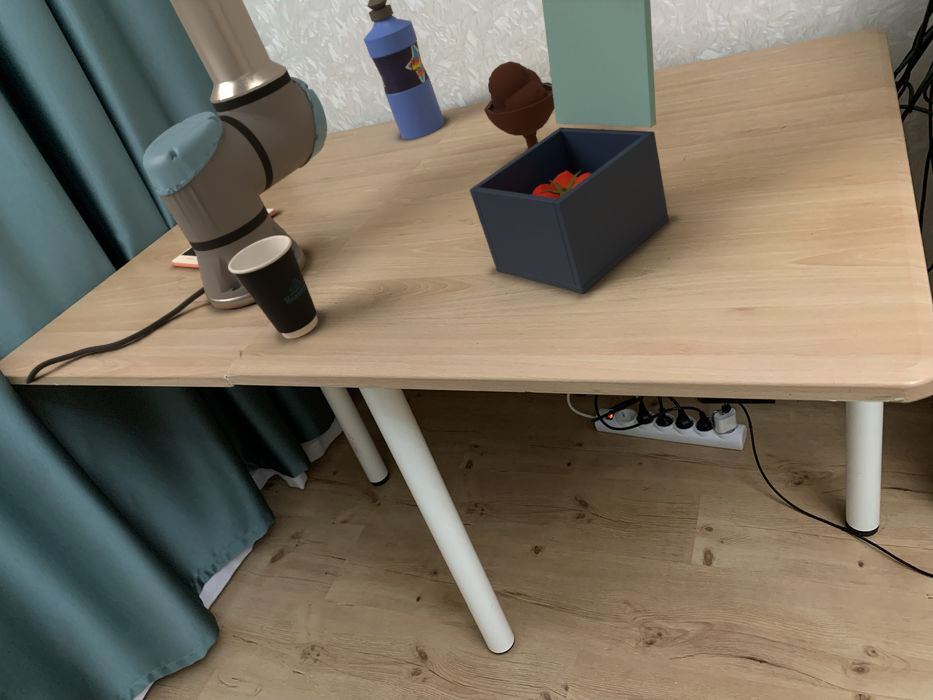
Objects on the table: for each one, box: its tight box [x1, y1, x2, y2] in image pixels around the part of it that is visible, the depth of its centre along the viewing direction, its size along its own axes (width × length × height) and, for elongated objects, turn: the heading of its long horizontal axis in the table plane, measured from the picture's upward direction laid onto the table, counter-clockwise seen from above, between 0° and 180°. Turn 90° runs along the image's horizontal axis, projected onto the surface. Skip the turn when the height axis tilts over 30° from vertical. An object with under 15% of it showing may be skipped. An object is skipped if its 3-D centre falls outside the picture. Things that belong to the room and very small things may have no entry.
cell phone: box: [171, 208, 277, 269], centre depth 122 cm, size 9×18×1 cm, turn 146°
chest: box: [469, 126, 670, 295], centre depth 79 cm, size 16×14×11 cm
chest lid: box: [541, 0, 657, 128], centre depth 75 cm, size 17×14×1 cm
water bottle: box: [363, 0, 445, 140], centre depth 131 cm, size 9×9×25 cm
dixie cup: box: [228, 235, 319, 340], centre depth 85 cm, size 8×8×11 cm
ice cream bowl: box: [483, 61, 555, 151], centre depth 103 cm, size 11×11×15 cm
